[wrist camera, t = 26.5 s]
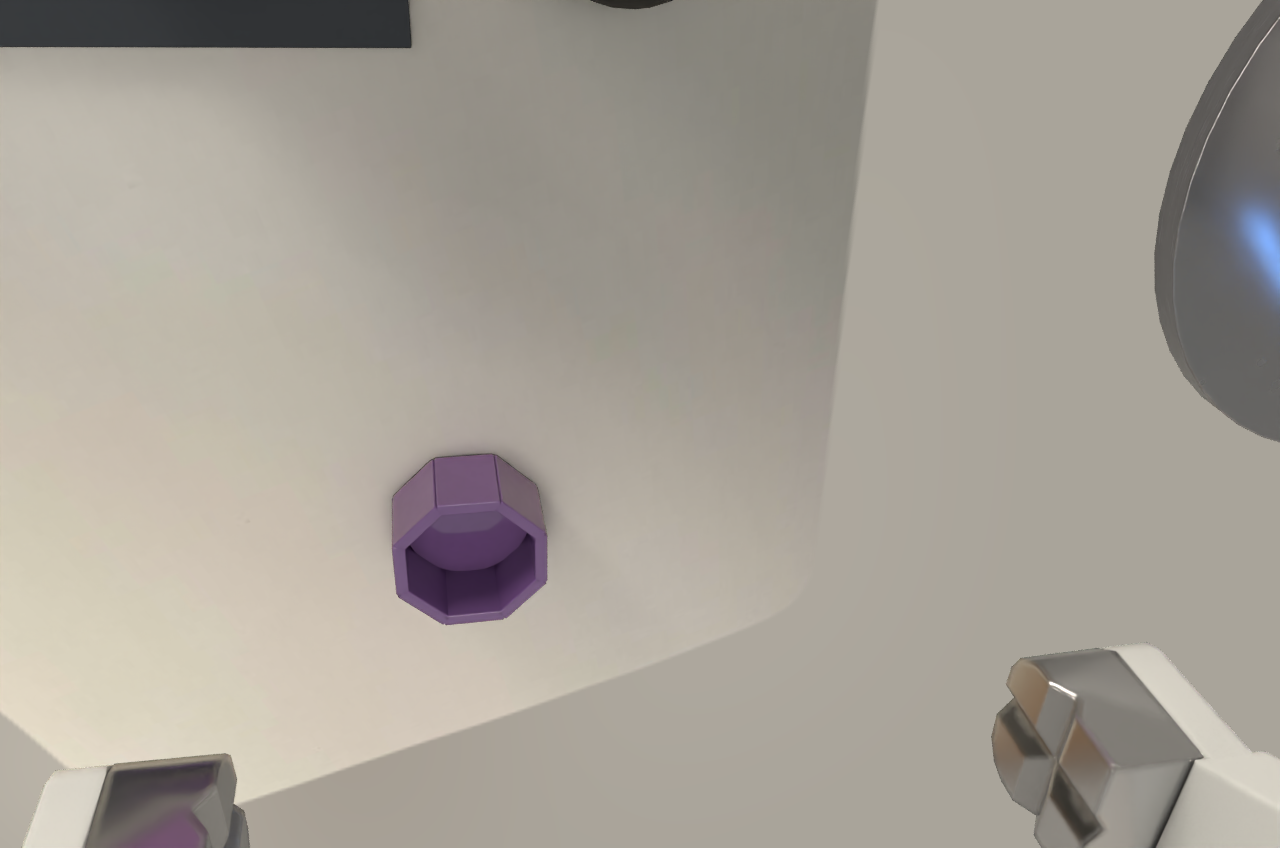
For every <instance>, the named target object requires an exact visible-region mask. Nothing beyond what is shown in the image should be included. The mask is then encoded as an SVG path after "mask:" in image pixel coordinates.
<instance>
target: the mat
mask: <svg viewBox="0 0 1280 848" xmlns="http://www.w3.org/2000/svg"><path fill="white" fill-rule="evenodd" d="M0 47H248V48H411V34H410V19H409V4H408V0H0Z"/></svg>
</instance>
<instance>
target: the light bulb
mask: <svg viewBox="0 0 1280 848" xmlns="http://www.w3.org/2000/svg"><path fill="white" fill-rule="evenodd" d="M591 1H593V2H596V3H599V4H602V5H606V6H609V7H613V8H626V9H641V8H650V7H653V6H657V5H660V4H663V3H666V2H670V1H672V0H591Z"/></svg>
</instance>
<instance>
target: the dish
mask: <svg viewBox="0 0 1280 848" xmlns="http://www.w3.org/2000/svg"><path fill="white" fill-rule="evenodd" d="M392 555H393V565H394V575H395V585H396V594H397V595H398V597H399V598H400V599H402V600H404V601H405V602H407V603H409V604H410V605H412V606H413V607H415V608H417V609H418V610H420V611H422V612H423V613H425V614H426V615H428V616H430V617H431V618H433V619H435V620H436V621H438V622H439V623H441V624H445V625H453V624H463V623H473V622H483V621H493V620H503V619H504V618H507V617H508V616H509V615H511V614H512V613H513V612H514V611H515V610H516V609H517V608H518V607H520V606H521V605H522V604H523V603H524V602H525V601H526V600H528V599H529V598H530V597H531V596H532V595H533V594H534V593H536V592H537V591H538V590H539V589H540V588H541V587H542V586H544V585H545V584H546V581H547V531H546V526H545V521H544V516H543V511H542V506H541V501H540V496H539V491H538V488H537V486H536V484H534V483H533V482H532V481H530V480H529V479H528V478H526V477H525V476H524V475H522V474H521V473H520V472H518V471H517V470H516V469H514V468H513V467H511V466H510V465H509V464H507V463H506V462H505V461H503V460H502V459H501V458H499V457H498V456H497V455H493V454H484V455H470V456H455V457H441V458H434V460H433V459H432V460H430V461H429V462H428V463H427V464H426V465H425V466H424V467H423V468H422V469H421V470H420V471H419V472H418V473H417V474H416V475H415V476H414V477H413V478H412V479H410V480H409V481H408V482H407V483H406V484H405V485H404V486H403V487H402V488H401V489H400V490H399V491H398V492H397V493H396V494H395V495H394V496H393V498H392Z"/></svg>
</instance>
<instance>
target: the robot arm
mask: <svg viewBox="0 0 1280 848" xmlns="http://www.w3.org/2000/svg"><path fill="white" fill-rule="evenodd" d="M1006 685H1007V687H1008V688H1009V690H1010V691H1011V693H1012V695H1013V696H1014V698H1013V699H1012V700H1011V701H1010V702H1009V703H1008V704H1007V705H1006V706H1005V707H1004V708H1003V709H1002V710H1001V711H1000V712H998V714H997V716H996V720H995V724H994V728H993V732H992V736H991V738H992V747H993V756H994V762H995V765H996V768H997V771H998V774H999V776H1000V779H1001V781H1002V783H1003V785H1004V786H1005V788H1006V790H1007V792H1008V793H1009V795H1010V797H1011V798H1012V800H1013V801H1015V802H1016V803H1018V804H1019V805H1021V806H1022V807H1024V808H1026V809H1027V810H1028V811H1030V812H1032V813H1033V814H1035V815H1036V821H1035V828H1034V836H1035V838H1036V840H1037V841H1038V843H1039V845H1040V846H1041V848H1280V759H1279V758H1277V757H1275V756H1274V755H1272V754H1270V753H1268V752H1266V751H1259V752H1251V751H1250V750H1249V748H1248V747H1247V746H1246V745H1245V744H1244V743H1243V742H1242V741H1241V740H1240V738H1239V737H1238V736H1237V735H1236V734H1235V733H1234V732H1233V731H1232V729H1231V728H1230V727H1229V726H1228V725H1227V724H1226V723H1225V722H1224V720H1223V719H1222V718H1221V717H1220V716H1219V715H1218V714H1217V712H1216V711H1215V710H1214V709H1213V708H1212V707H1211V706H1210V705H1209V704H1208V702H1207V701H1206V700H1205V699H1204V698H1203V697H1202V696H1201V695H1200V693H1199V692H1198V691H1197V690H1196V689H1195V688H1194V687H1193V686H1192V685H1191V683H1190V682H1189V681H1188V680H1187V679H1186V678H1185V677H1184V675H1182V673H1181V672H1180V671H1179V670H1178V669H1177V668H1176V667H1175V665H1174V664H1173V663H1172V662H1171V661H1170V660H1169V659H1168V657H1167V656H1166V655H1165V654H1164V653H1163V652H1162V651H1161V650H1160V649H1159V648H1157V647H1155V646H1153V645H1151V644H1150V643H1148V642H1144V643H1136V644H1128V645H1120V646H1112V647H1105V648H1102V649H1100V648H1094V649H1086V650H1078V651H1071V652H1063V653H1055V654H1048V655H1040V656H1032V657H1025V658H1020V659H1019V660H1018V661H1017V662H1016V663H1015V664H1014V665H1013V666H1012V668H1011V670H1010V674H1009V677H1008V680H1007V683H1006ZM236 783H237V777H236V773H235V770H234V766H233V762H232V759H231V755H228V754H225V753H224V754H213V755H202V756H192V757H181V758H171V759H160V760H150V761H139V762H128V763H118V764H114V765H106V766H95V767H85V768H75V769H65V770H56V771H55V772H54V773H53V775H52V776H51V777H50V778H49V779H48V781H47V782H46V783H45V785H44V786H43V788H42V791H41V794H40V797H39V800H38V802H37V805H36V809H35V811H34V814H33V817H32V819H31V822H30V825H29V828H28V831H27V834H26V836H25V839H24V842H23V845H22V848H250V843H249V833H248V826H247V821H246V817H245V812H244V810H242V809H241V808H239V807H238V806H236V805H235V804H233V803H234V796H235V789H236Z"/></svg>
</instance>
